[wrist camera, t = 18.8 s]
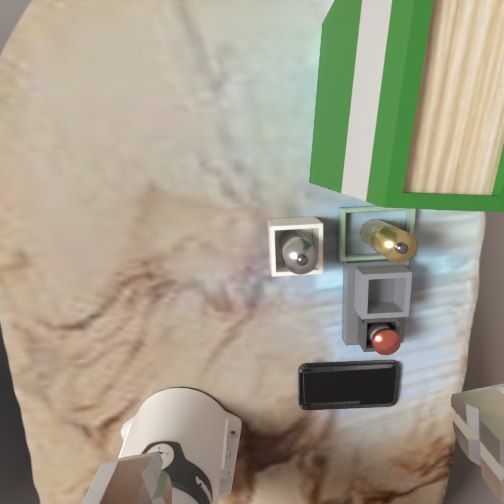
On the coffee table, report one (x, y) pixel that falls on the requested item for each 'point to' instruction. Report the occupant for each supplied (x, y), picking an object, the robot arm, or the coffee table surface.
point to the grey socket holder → (374, 298)
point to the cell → (389, 240)
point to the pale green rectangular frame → (342, 211)
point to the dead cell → (297, 252)
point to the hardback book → (412, 104)
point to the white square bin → (308, 227)
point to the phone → (348, 384)
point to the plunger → (383, 338)
